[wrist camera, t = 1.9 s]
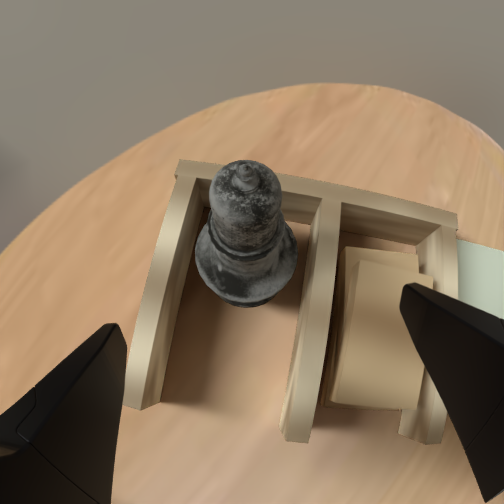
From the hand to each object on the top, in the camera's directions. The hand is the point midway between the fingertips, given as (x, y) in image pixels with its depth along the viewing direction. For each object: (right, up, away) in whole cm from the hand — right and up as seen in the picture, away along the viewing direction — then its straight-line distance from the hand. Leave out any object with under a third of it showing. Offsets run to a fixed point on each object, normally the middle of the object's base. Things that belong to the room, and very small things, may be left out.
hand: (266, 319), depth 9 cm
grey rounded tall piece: (-1, +1, +13) cm, 13 cm away
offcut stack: (+7, -4, +11) cm, 14 cm away
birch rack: (+3, -3, +11) cm, 12 cm away
